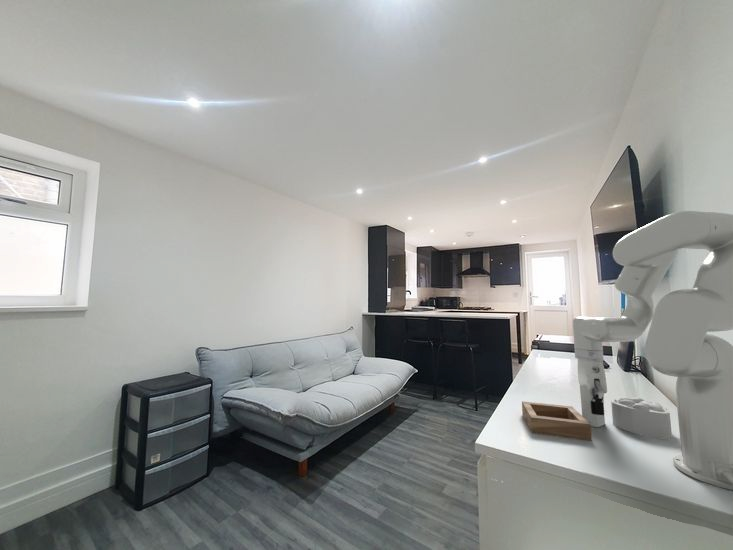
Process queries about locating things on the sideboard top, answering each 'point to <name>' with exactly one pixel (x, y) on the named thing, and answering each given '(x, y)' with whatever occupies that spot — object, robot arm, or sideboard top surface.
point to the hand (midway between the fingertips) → (592, 409)
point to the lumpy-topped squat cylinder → (641, 417)
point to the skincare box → (589, 408)
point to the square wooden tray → (556, 420)
